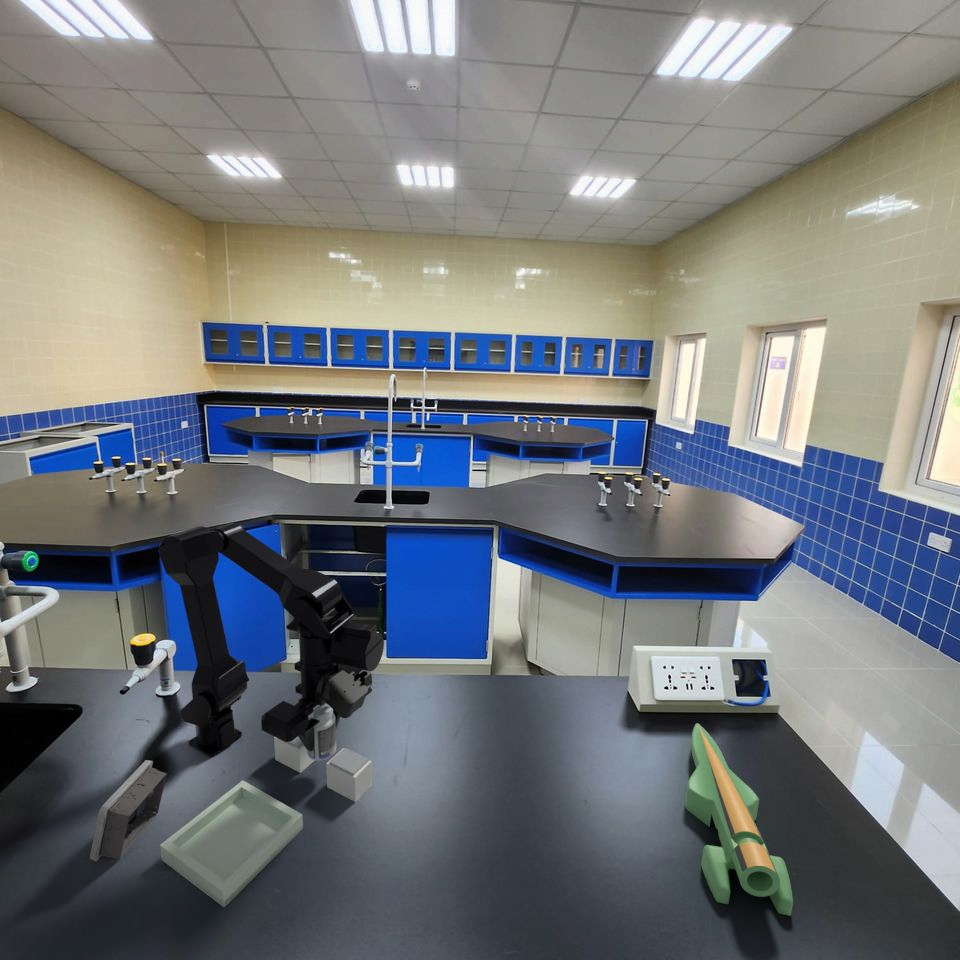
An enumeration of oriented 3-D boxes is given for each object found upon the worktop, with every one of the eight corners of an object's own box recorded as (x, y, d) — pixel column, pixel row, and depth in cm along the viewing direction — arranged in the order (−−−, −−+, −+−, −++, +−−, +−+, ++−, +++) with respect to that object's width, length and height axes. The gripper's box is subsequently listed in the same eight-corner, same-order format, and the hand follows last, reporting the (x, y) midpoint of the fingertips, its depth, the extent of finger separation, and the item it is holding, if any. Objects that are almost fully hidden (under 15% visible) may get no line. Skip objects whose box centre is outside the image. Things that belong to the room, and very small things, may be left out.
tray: (161, 860, 70) (160, 845, 70) (243, 793, 82) (242, 780, 81) (224, 907, 64) (222, 891, 64) (303, 828, 76) (302, 814, 75)
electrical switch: (138, 806, 79) (137, 755, 77) (170, 812, 78) (170, 761, 76) (88, 864, 69) (85, 807, 67) (125, 870, 69) (123, 814, 67)
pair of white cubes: (275, 759, 89) (273, 735, 88) (293, 745, 92) (292, 721, 91) (355, 802, 81) (355, 775, 80) (372, 784, 84) (371, 759, 83)
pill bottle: (339, 741, 88) (338, 698, 86) (332, 762, 83) (331, 716, 82) (311, 741, 88) (309, 697, 86) (303, 761, 83) (301, 716, 81)
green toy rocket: (665, 736, 98) (670, 703, 96) (723, 745, 96) (729, 710, 95) (711, 904, 67) (718, 858, 66) (797, 920, 66) (807, 873, 64)
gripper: (312, 704, 70) (315, 800, 73) (394, 643, 86) (394, 724, 90) (256, 679, 75) (261, 770, 78) (344, 626, 91) (345, 703, 95)
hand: (321, 740), depth 85 cm, fingers closed on pill bottle, 5 cm apart
